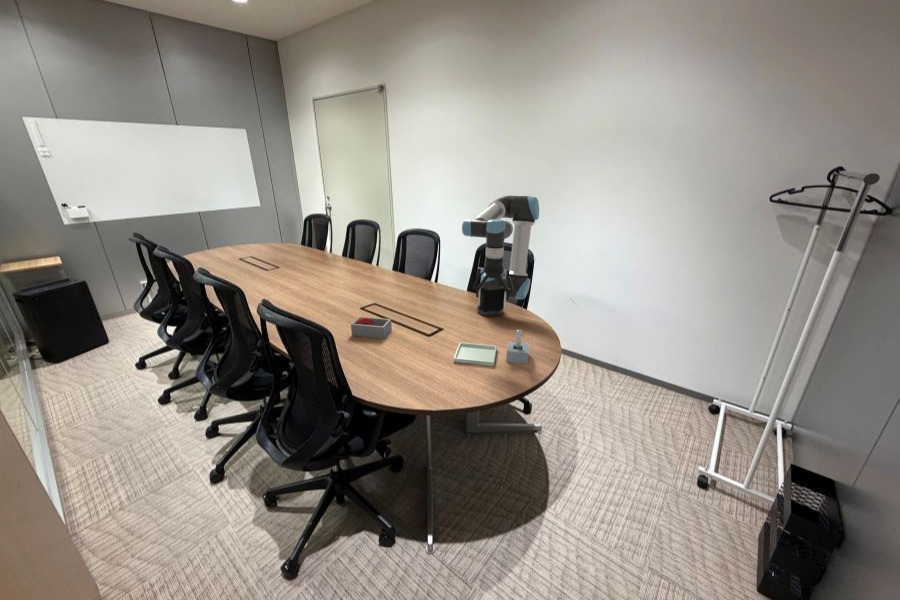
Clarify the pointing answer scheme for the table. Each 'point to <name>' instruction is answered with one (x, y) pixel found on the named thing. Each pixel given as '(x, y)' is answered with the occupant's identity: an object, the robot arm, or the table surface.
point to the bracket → (364, 321)
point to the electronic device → (492, 298)
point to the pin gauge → (518, 339)
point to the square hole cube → (517, 353)
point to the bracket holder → (372, 328)
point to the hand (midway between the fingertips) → (491, 305)
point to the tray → (475, 354)
